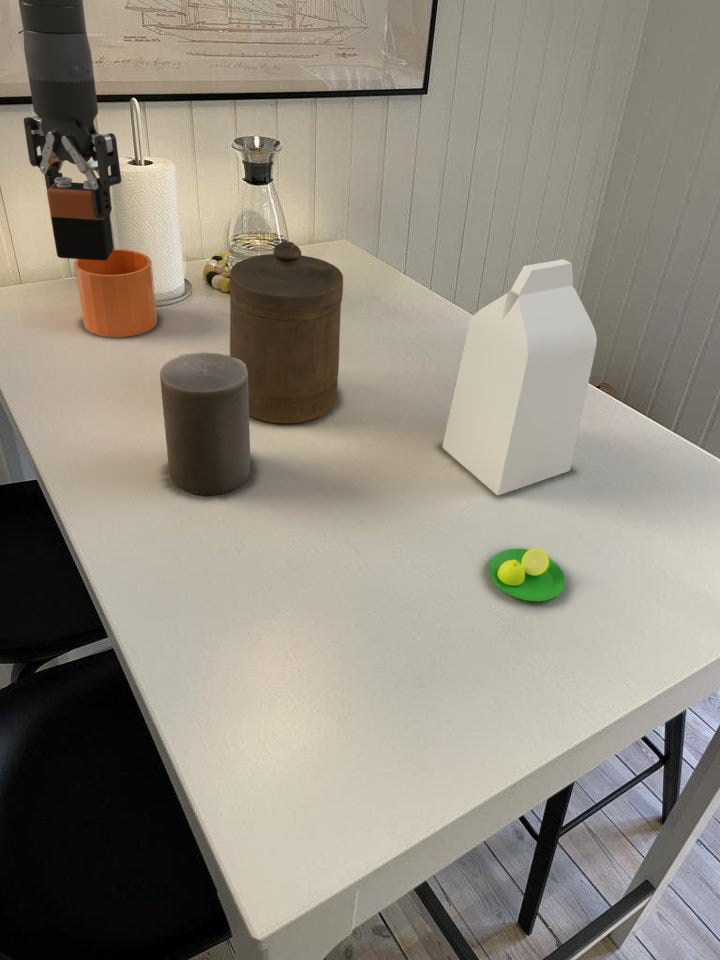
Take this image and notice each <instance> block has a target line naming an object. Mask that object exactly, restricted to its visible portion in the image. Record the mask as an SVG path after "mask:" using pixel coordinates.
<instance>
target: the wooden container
mask: <svg viewBox="0 0 720 960" xmlns="http://www.w3.org/2000/svg"><path fill="white" fill-rule="evenodd" d="M343 293H344V275H343V273H342V271H341V270H340V269H339V268H338V266H335V265H334V264H332V263H330V262H329V261H325V260H323V259H320V258H316V257H312V256H308V255H302V250H301V248H300V247H299V246H298V245H296V244H295V243H294V242H292V241H281V242H280V243H277V244H276V245H275V246H274V248H273V253H267V254H260V255H255V256H250V257H247V258H244V259H242V260H240V261H238V262H236V263H235V264H234V265H232V267H231V268H230V271H229V305H230V306H229V356H230V357H233V358H236V359H239V360H241V361H242V362H243V363H245V364H246V368H247V371H248V397H249V417H251V418H254V419H256V420H260V421H263V422H267V423H275V424H299V423H300V424H301V423H306V422H311V421H313V420H316V419H319V418H320V417H323V416H324V415H326V414H328V413H329V412H330V411H331V410H332V409H333V408H334V406H335V405H336V402H337V394H338V377H339V368H340V345H341V344H340V341H341V337H340V336H341V314H342V313H341V312H342V311H341V309H342V302H343Z"/></svg>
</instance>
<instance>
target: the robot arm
mask: <svg viewBox="0 0 720 960" xmlns="http://www.w3.org/2000/svg"><path fill="white" fill-rule="evenodd" d="M18 7H19V12H20V18H21V26H22V32H23V51H24V52H23V53H24V58H25V64H26V70H27V71H26V72H27V77H28V83H29V89H30V95H31V101H32V107H33V112H34V114H35V115H33V116H28V117H24V118H23V126H24V132H25V139H26V147H27V153H28V160H29V163H30V166H32V167H37V168H39V171H40V173H41V174H42V175H44V176H43V177H44V182H45V188H46V191H47V190H48V189H49V188H50V187H51V186H52V185H53V184H54V183H55V179H56V178H57V177H64V176H63V173H62V172H61V170H62V167H63V165H64V162H65V161H67V162H69V163H70V164H72V165H75V166H76V167H77V169H78V171H79V172H80V173H81V174H84V175H85V177H86V179H87V180H88V181H89V183H90V185H91V186H92V189H91V193H92V201H93V209H94V215H95V217H98V218H104V217H107V216H109V215H110V216H111V213H112V209H113V208H112V201H111V200H112V198H111V191H110V190H111V189H110V188H111V187H112V186H115V185H120V184H121V183H122V174H121V167H120V160H119V152H118V151H119V150H118V144H117V143H118V142H117V137H116V135H115V134H114V133H112V132H110V133H105V134H102V133H98V131H97V129H96V127H95V119H96V117H97V116H98V115H99V108H98V100H97V99H98V98H97V91H96V83H95V74H94V73H95V71H94V65H93V56H92V51H91V50H92V49H91V46H90V42H89V38H88V32H87V24H86V16H85V7H84V0H18ZM38 148H39V151H40V154H38ZM91 159H92V160H93V161H90V160H91ZM109 169H110V173H109ZM95 172H96V173H97V175H98V177H97V175H96V173H95Z"/></svg>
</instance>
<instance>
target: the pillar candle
mask: <svg viewBox="0 0 720 960" xmlns="http://www.w3.org/2000/svg"><path fill="white" fill-rule="evenodd" d="M159 380H160V388H161V389H160V390H161V400H162V401H161V402H162V411H163V413H162V414H163V421H164V422H163V423H164V432H165V443H166V444H165V445H166V454H167V455H166V457H167V465H168V473H169V477H170V479H171V481H172V483H173V484H174V485H175V486H176V487H177V488H178V489H180V490H182V491H185V492H187V493H191V494H196V495H200V496H216V495H220V494H224V493H225V494H226V493H227V492H231V491H233V490H236V489H237V488H240V487H241V486H242V485H244V484H245V483H246V482H247V481H248V479H249V477H250V475H251V443H250V442H251V440H250V439H251V436H250V416H249V397H248V371H247V368H246V364H245V363H243V362H242V361H241V360H239V359H236V358H233V357H230V355H228V354H222V353H216V352H195V353H183V354H181V355H178V357H175V358H172V359H170V360H169V361H167V362H166V363H164V364H163V366H162V367H161V368H160V370H159Z"/></svg>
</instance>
